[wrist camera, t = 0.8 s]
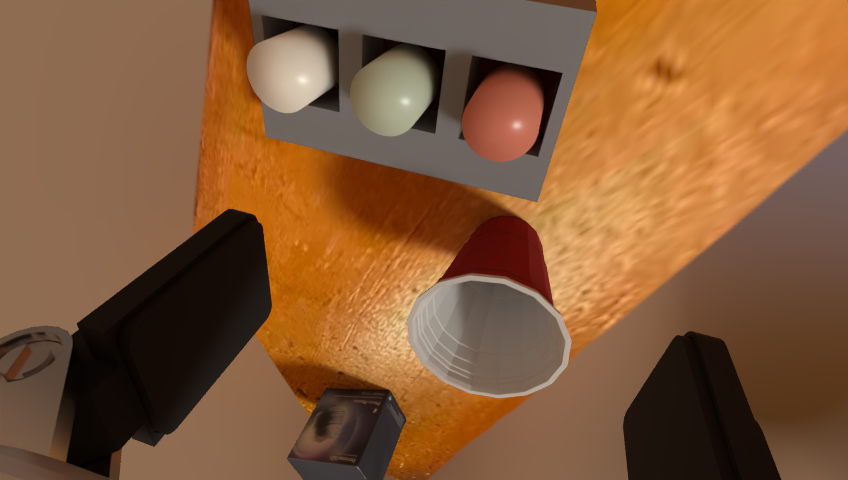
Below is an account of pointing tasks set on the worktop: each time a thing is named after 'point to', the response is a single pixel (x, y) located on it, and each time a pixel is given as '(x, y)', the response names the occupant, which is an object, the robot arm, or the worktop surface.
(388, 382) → the worktop surface
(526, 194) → the panel
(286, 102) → the ivory button
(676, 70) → the worktop surface
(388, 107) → the sage button
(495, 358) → the plastic cup
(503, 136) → the brick button
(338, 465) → the small box
